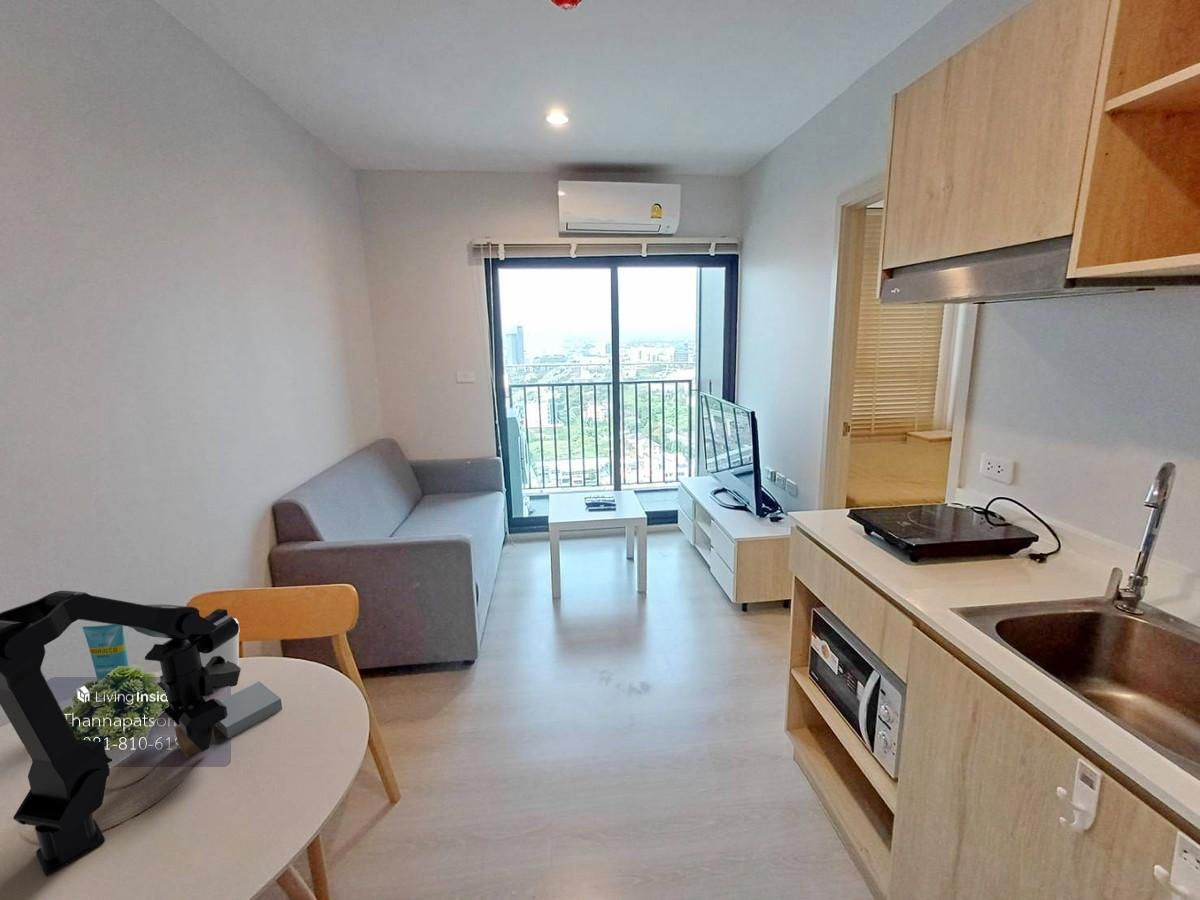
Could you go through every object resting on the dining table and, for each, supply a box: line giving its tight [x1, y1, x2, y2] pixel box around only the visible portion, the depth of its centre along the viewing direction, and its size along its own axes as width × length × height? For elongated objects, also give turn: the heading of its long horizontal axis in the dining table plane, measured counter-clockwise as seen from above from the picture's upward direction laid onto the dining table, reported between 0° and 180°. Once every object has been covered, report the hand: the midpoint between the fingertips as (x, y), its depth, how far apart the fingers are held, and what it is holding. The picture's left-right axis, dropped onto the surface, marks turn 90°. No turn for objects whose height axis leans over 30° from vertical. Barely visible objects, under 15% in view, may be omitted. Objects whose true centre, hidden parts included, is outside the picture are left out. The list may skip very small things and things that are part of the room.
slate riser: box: [214, 681, 283, 739], centre depth 106 cm, size 10×10×2 cm
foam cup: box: [200, 617, 241, 667], centre depth 116 cm, size 10×9×13 cm
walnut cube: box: [174, 724, 216, 757], centre depth 98 cm, size 4×4×4 cm
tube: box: [81, 624, 130, 682], centre depth 107 cm, size 7×5×19 cm, turn 103°
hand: (196, 739), depth 98 cm, fingers open, 9 cm apart
